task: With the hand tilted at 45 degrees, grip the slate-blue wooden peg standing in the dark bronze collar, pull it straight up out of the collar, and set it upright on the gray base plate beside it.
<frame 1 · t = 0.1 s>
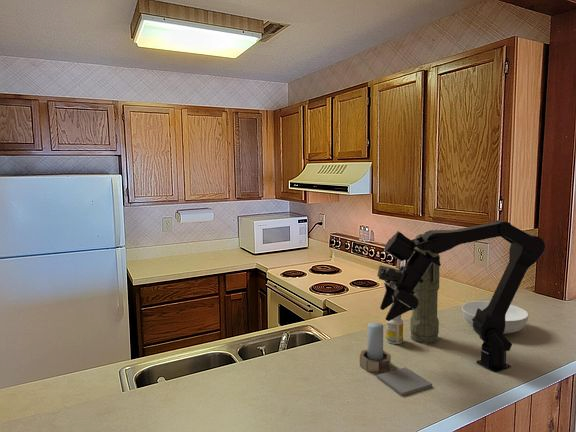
hand: (384, 314, 114), 15 cm above the worktop, tool tilted 35°, fingers open, 9 cm apart
serving bowl: (493, 329, 140), on the worktop
supplement bottle: (394, 341, 131), on the worktop
thermos: (424, 339, 132), on the worktop
gray base plate: (403, 382, 104), on the worktop
bronze collar: (375, 365, 114), on the worktop
slate peg: (375, 345, 113), in the bronze collar
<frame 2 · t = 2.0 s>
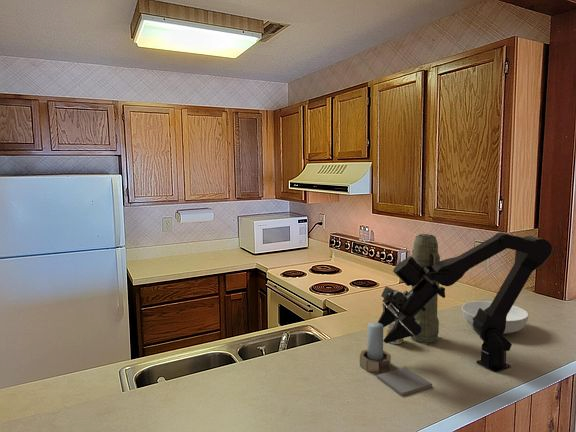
hand: (380, 335, 113), 9 cm above the worktop, tool tilted 45°, fingers open, 9 cm apart
nothing on the worktop moved.
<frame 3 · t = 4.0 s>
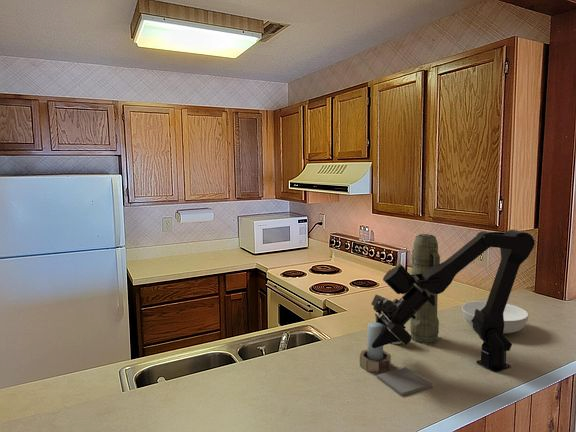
hand: (370, 343, 113), 7 cm above the worktop, tool tilted 45°, fingers closed on slate peg, 4 cm apart
slate peg: (375, 345, 113), in the bronze collar, touching gripper
everything else where it was.
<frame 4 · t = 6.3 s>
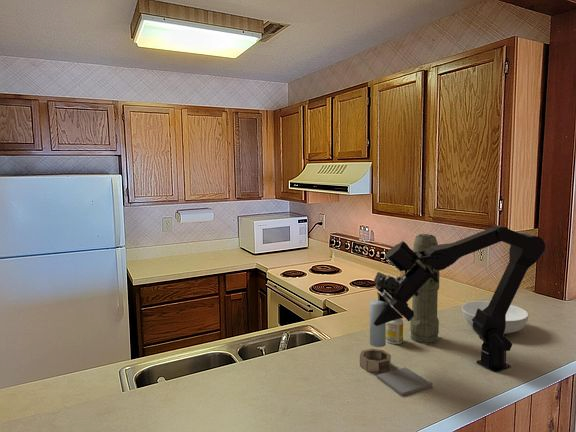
hand: (372, 321, 112), 13 cm above the worktop, tool tilted 45°, fingers closed on slate peg, 4 cm apart
slate peg: (377, 323, 112), point 13 cm above the worktop, touching gripper
everything else where it was.
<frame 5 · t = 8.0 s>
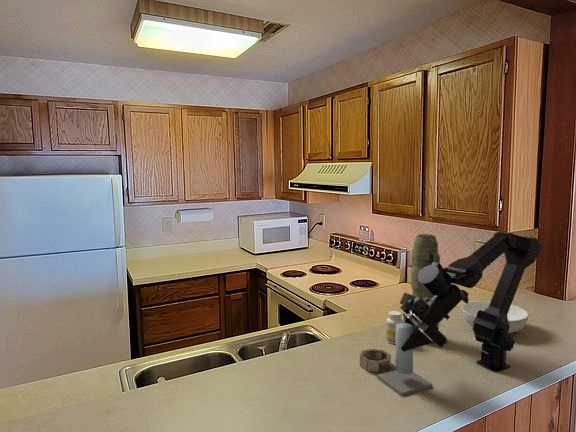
hand: (399, 346, 104), 10 cm above the worktop, tool tilted 45°, fingers closed on slate peg, 4 cm apart
slate peg: (404, 348, 104), point 9 cm above the worktop, touching gripper
everything else where it was.
when the fingers open (9 cm above the worktop, at t = 9.0 s): slate peg drops 1 cm, resting on gray base plate.
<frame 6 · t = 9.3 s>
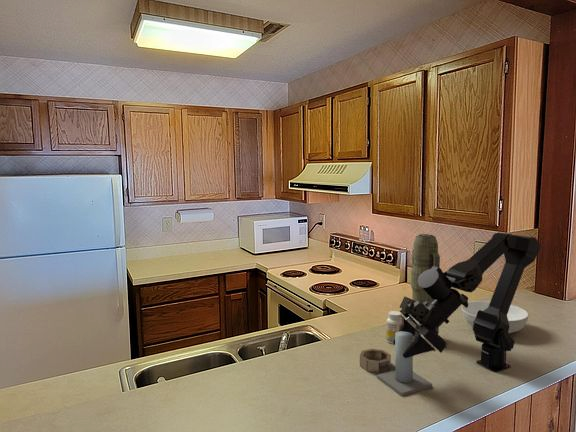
hand: (398, 350, 104), 9 cm above the worktop, tool tilted 45°, fingers open, 7 cm apart
slate peg: (403, 356, 104), on the gray base plate, point 7 cm above the worktop
everything else where it was.
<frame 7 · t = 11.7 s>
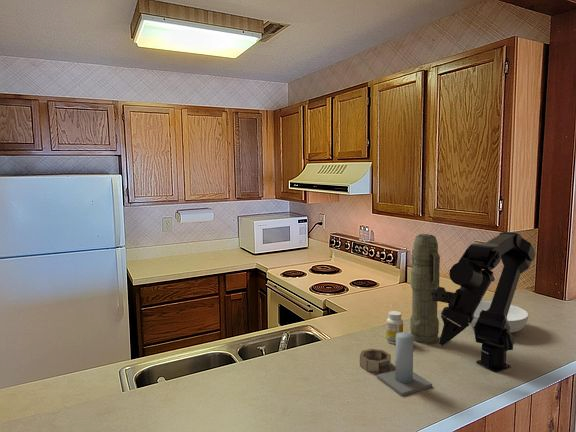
hand: (443, 343, 104), 10 cm above the worktop, tool tilted 30°, fingers open, 9 cm apart
nothing on the worktop moved.
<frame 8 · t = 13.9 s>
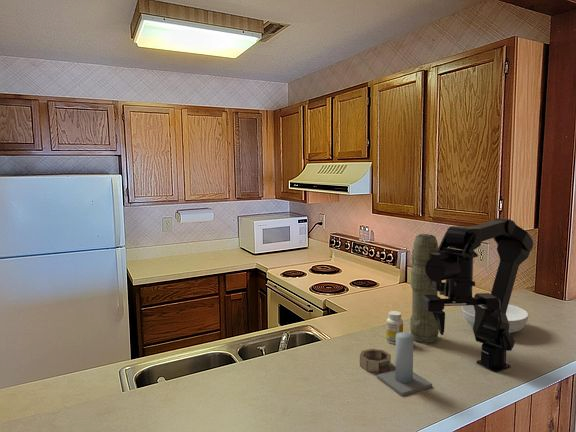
hand: (459, 334, 103), 13 cm above the worktop, tool pointing down, fingers open, 9 cm apart
nothing on the worktop moved.
at the end: slate peg 0.1 cm off-centre on the gray base plate, point 6.8 cm above the gray base plate's base; slate peg tilted 0°; the gripper is holding nothing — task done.
